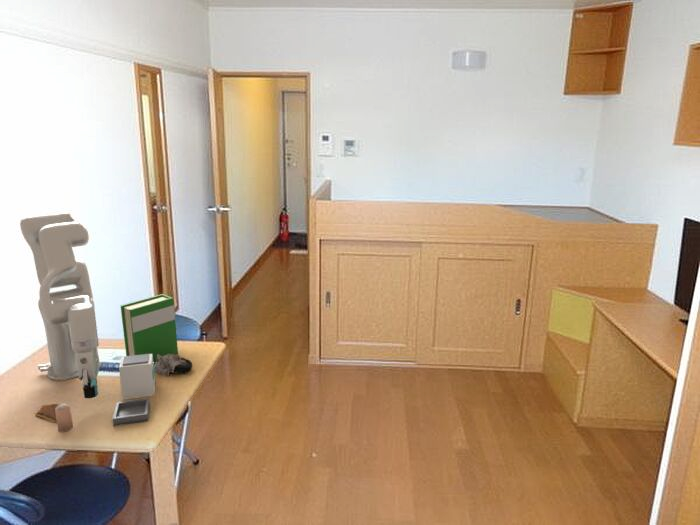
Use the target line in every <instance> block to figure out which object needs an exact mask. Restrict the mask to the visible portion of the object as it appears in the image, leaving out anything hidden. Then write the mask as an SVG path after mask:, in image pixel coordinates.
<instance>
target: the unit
mask: <svg viewBox="0 0 700 525" xmlns="http://www.w3.org/2000/svg"><path fill="white" fill-rule="evenodd" d="M154 368H155V363H153V355H152V354H142V355H133V356H126V355H125V356H122V357H121V359H120V362H119V367H118V370H119V371H118V372H119V380H120V387H121V394H122V395H121V396H122V400H128V399H127V398H131V399H137V397H139V398H145V397H144V396H146V397H152V395H154V396H155V392H156V390H155V389H156V378H155V376H156V375H155V372H156V371H155V370H154Z"/></svg>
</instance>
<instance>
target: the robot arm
mask: <svg viewBox="0 0 700 525" xmlns="http://www.w3.org/2000/svg"><path fill="white" fill-rule="evenodd" d="M19 226H20V231H21V233H22V236H23V238H24V240H25V241H26V243H27V244H28V246H29V248H30V250H31V252H32V254H33V260H34V265H35V271H36V275H37V276H36V277H37V279H38V283H39V285H40V287H39V292H38V294H39V299H38V303H37V305H38V309H39V312H40V315H41V318H42V322H43V327H44V329H45V330H44V332H45V337H46V341H47V350H48V355H49V362H48V363H43V364H42V363H41V364H38V366H37V368H38V371H40V372H43V373H44V372H47V374H46V375H47V377H48V379H49V380H52V381H67V380H70V379H74V378H76V377H78V379H79V381H82V389H83V397H84V399H88V398H91V399H94V398H93V397H95V396H96V395H95V386H93V379H96V378H97V379H98V375H99V371H100V367H101V363H100V357H99V356H100V355H99V350H98V347H99V346H100V344H99V343H100V342H99V337H98V336H99V334H98V326H97V319H96V312H95V311H96V309H95V303H94V298H93V297H94V296H93V291H92V286H91V281H90V280H91V279H90V275H89V271H88V266H87V264H86V263H85V261H84V260H83V259H81V258H78V257H75V253H74V251H73V248H74V247H75V248H76V247H82V246H86V245H87V244H88V243H89V238H90V237H89V236H90V235H89V231H88V228H87V227H86V224H85V223H84V221H83V220H82V219H81V218H80V216H78V214H77V213H76V212H74V211H72V210H66V211H64V210H63V211H55V212H43V213H42V212H41V213H33V214H29V215H26V216H23V217H22V218H21V220H20V222H19ZM69 286H75V288H74V287H73V288H69V289H61V290H58V291H52V292H50V291H51V289H55V288H56V289H57V288H62V287H69ZM88 376H89V377H88ZM88 380H90V382H91V383H90V382H88ZM97 387H98V388H99V385H98V384H97ZM95 398H96V397H95Z"/></svg>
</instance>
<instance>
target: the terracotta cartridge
mask: <svg viewBox="0 0 700 525" xmlns="http://www.w3.org/2000/svg"><path fill="white" fill-rule="evenodd" d="M60 404H61V405H59V406H57V407H56V408H55V413H56V419H57V423H56V424H57V431H59V432H68V431H70V430H71V429H73V427H74V426H73V424H74V423H73V418H72V412H71V410H72V409H71V406H70V404H67V403H60Z"/></svg>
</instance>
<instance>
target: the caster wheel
mask: <svg viewBox="0 0 700 525" xmlns="http://www.w3.org/2000/svg"><path fill="white" fill-rule="evenodd" d="M192 366H193V363H192V361H191V360H189V359H187V358H184V357H180V356H179V355H178V354H177V355H176V354H167V355H165V356H160V355H158V354H157V359H156V362H155V363H154V370H155V372H157V373H159V374H160V375H163V376H164V377H166V378H167V377H169V375H170V373H173V374H174V373H175V374H183V375H184V374H188V373H190V372H191V371H192Z"/></svg>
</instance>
